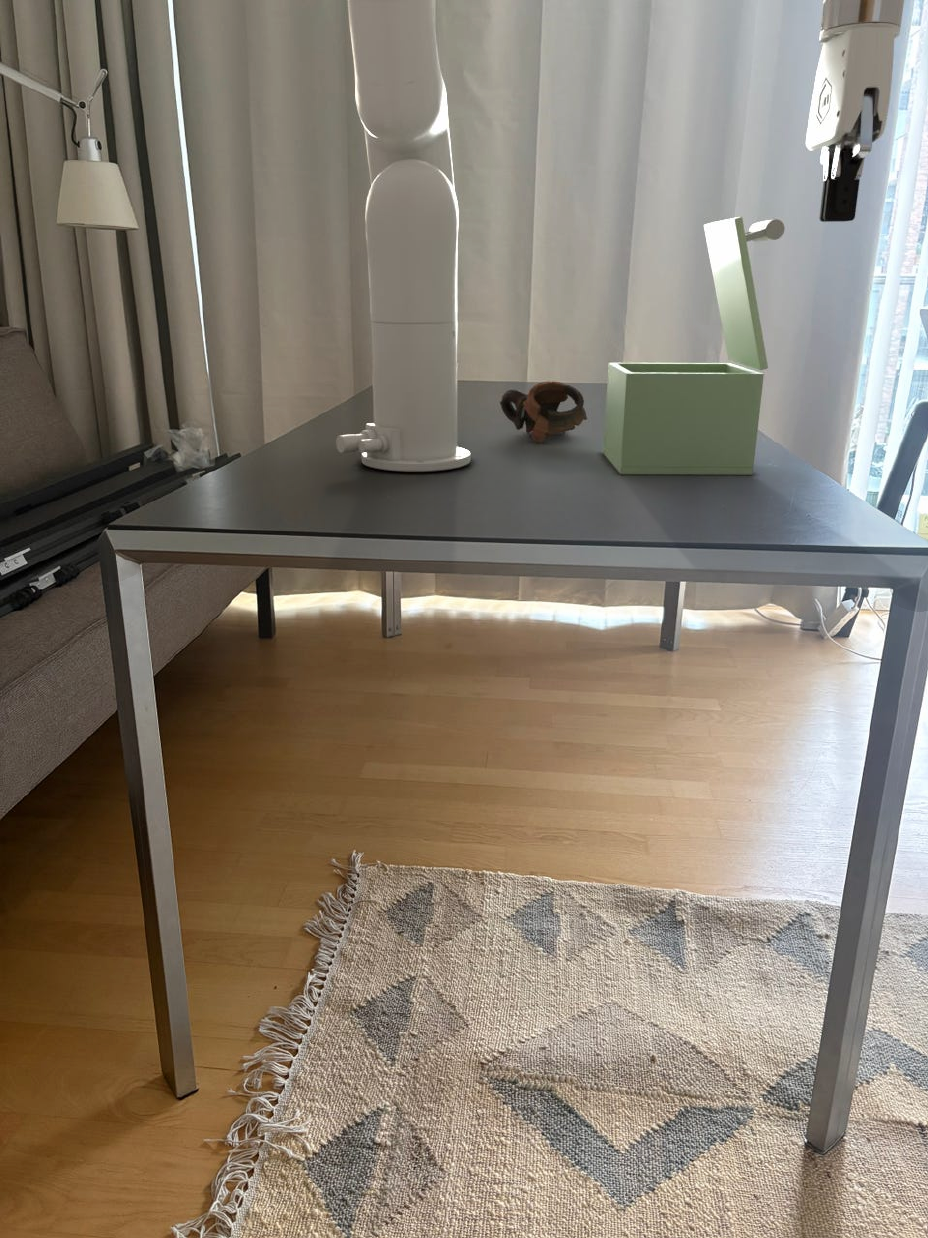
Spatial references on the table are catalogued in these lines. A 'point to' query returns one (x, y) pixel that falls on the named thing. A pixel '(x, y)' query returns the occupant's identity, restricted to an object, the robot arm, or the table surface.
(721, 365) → the chest
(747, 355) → the lid
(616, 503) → the table surface
